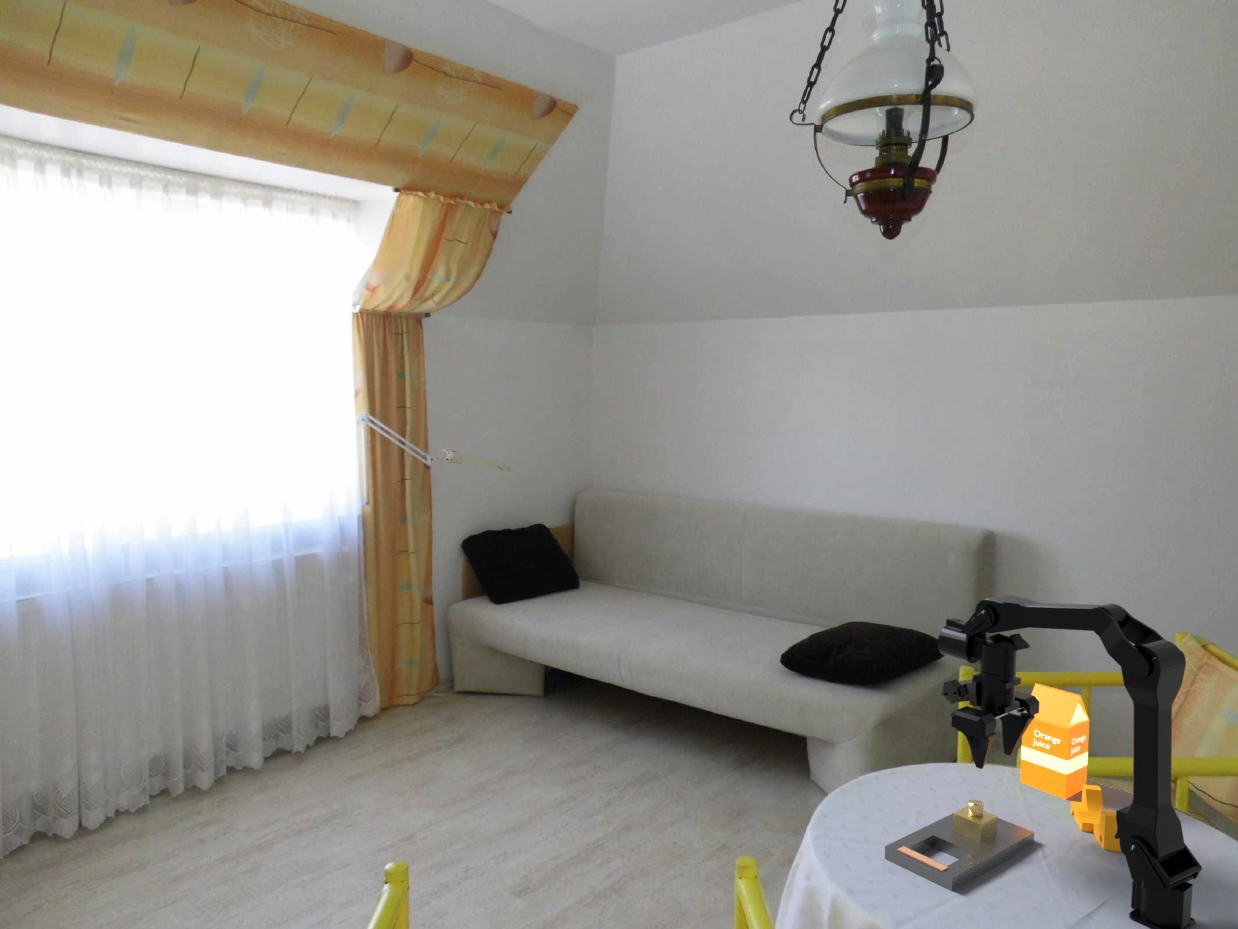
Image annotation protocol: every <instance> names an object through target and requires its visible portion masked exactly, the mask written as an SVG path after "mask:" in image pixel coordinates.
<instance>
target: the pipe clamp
mask: <svg viewBox="0 0 1238 929" xmlns="http://www.w3.org/2000/svg"><path fill="white" fill-rule="evenodd" d="M1116 812H1117V810H1109V809H1108V810H1106V809H1105V810H1104V804H1103V789H1102V788H1101V787H1100V786H1099V785H1094V784H1086V785H1085V784H1083V786H1082V790H1081V801H1074V800H1073V801H1070V814H1071V815H1072V816H1073V817H1074V818H1073V820H1074V821H1075V822H1076V824H1077V826H1078V827H1079V829H1080V831H1081V832H1084V833H1085V832H1086V833H1088V832H1089V833H1093V835H1094V836H1095V838H1096V840H1097V841H1098V843H1099V845H1100V846H1101V848H1102V850H1104V851H1113V852H1121V849H1120V845H1119V838H1118V839H1116V838H1115V835H1116V833H1117V821H1116Z"/></svg>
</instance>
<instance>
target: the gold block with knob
mask: <svg viewBox="0 0 1238 929" xmlns="http://www.w3.org/2000/svg"><path fill="white" fill-rule="evenodd" d="M967 801H968V802H967V806H965V807H963V808H961V809H959V810H957V811H955V812H953V813H952V814H953V830H952V831H955V832H957V833H959V834H962V835H964V836H966V837H969V838H971V839H973V840H976V841H978V842H982V841H984V840H986V839H988V838H990V837H991V836H993V835H995V834H997V819H998V818H999V817H998V815H995V814H993V813H991V812H989V811H987V810H984V807H985V806H984V802H982V801H981V800H978V799H968V800H967Z"/></svg>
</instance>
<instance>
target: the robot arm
mask: <svg viewBox="0 0 1238 929" xmlns="http://www.w3.org/2000/svg"><path fill="white" fill-rule="evenodd" d="M975 606H976V607H975V610H974V611H975V612H974V613H973V614H972V615H971V616H970V618H968V620H967V621H964V620H963V619H960V618H957V617H952V618H946V621H945V622H946V623H945V626H943V628H942V629H941V630H940V633H939V636H938V637H937V641H936V646H937V649H938V651H939V653H940V654H941V655H943V656H946V657H949V658H952V659H956V660H957V661H962V662H966V663H969V664H975V663H979V665H978V666H979V668H978V673H975V674H973V676H972V677H971V679H964V680H958V679H957V678H956V679H948V680H945V681H943V685H942V691H941V696H943V698H944V700H946V701H948V703H949V704H950V705H953V704H954V705H955V704H956V703H961V702H963V703H964V702H969V706H968V705H965V706H963V707H961V708H958V709H955V710H954V711H953V712H951V713H950V716H949V717H950V718H949V721H950V722H949V726H950V727H951V728H955V729H954V730H956V731H958V732H961V733H962V734H963V735H964V737H966V741H967V743H968V746H969V748H970V752H971V756H972V759H973V763H974V765H975V767H976V768H977V769H980V770H983V769H984V767H985V764H986V762H987V760H988V757H989V756H990V755H989V754H990V752H991V749H992V746H993V744H994V741H995V739H996V737H997V732H995V730H996V728H997V719H999V720H1000V721H1001V731H1002V733H1001V734H1002V746H1003V753H1004V755H1006V756H1012V755H1013V753H1014V751H1015V749H1016V748H1017V746H1018V744H1019V743H1020V741H1021V740H1022V736H1023V734H1024V732H1025V731H1026V729H1027V728H1028V726H1029V725H1030V723H1031V721H1032V720H1033V719H1034V718H1035V716H1034V715H1035V714H1037V713H1039V703H1040V702H1039V701H1038V700H1037V698H1036V697H1035V696H1033V695H1031V694H1029V693H1026V692H1021V691H1018V690H1016V686H1018V685H1021V684H1022V683H1021V682H1022V678H1021V677H1019V676H1018V677H1017V660H1018V659H1017V656H1018V655H1017V654H1018V652H1019V651H1025V650H1027V649H1030V647H1031V646H1030V644H1029V643H1028V642H1027V641H1026V640H1025V639H1024V638H1023V637H1022V635H1021V634H1020V633H1013V634H1010V635H1005V634H1002V633H1004V632H1008V631H1014V630H1015V631H1016V630H1020V629H1022V630H1023V629H1030V628H1032V629H1033V628H1034V629H1048V630H1049V629H1051V630H1068V631H1069V630H1070V631H1083V632H1084V631H1085V632H1086V631H1087V632H1094V633H1095V634H1096V635H1097V636H1098V637H1099V639H1100V641H1101V642H1102V645H1103V647H1104V649H1105V651H1106V653H1107V654H1108V655H1109V656H1110V657H1111V659H1113V660H1114V661H1115V662H1116V663H1117V664H1118V665H1119V666H1120V671H1121V676H1122V683H1123V686H1124V687H1125V688H1124V689H1125V690H1126V692H1127V694H1128V695H1129V697H1130V699H1131V701H1132V707H1133V709H1132V710H1133V711H1132V714H1133V716H1132V717H1133V720H1132V721H1133V723H1132V728H1133V731H1132V732H1133V733H1132V735H1133V736H1132V739H1133V741H1132V801H1131V803H1130V805H1128V806H1125V807H1122V808H1119V809H1118V810H1116V811H1117V812H1116V821H1117V833H1116V835H1115V838H1116V839H1118V838H1119V845H1120V849H1121V851H1120V852H1121V853H1122V854H1123V855H1124V856H1125V859H1126V862H1127V866H1128V871H1129V873H1130V878H1131V880H1132V881H1131V897H1130V907H1131V909H1132V910H1131V911H1130V912H1129V913H1128V917H1129V919H1131V920H1134V921H1137V922H1138V923H1141V924H1143V925H1145V926H1148V927H1150V928H1153V929H1190V928H1192V927H1193V926H1194V925H1195V924H1196V919H1195V918H1193V917H1192V916H1191V915H1192V900H1193V886H1194V885H1193V884H1192V883H1191V882H1190V881H1191V880H1196V879H1197V878H1199V875H1200V873H1201V871H1202V869H1203V867H1202V865H1201V864H1200V862H1199V861H1198V860H1197V858H1196V857H1195V856H1194V854H1193V852H1192V851H1191V850H1190V849H1189V848H1188V846H1187V845H1186V843H1185V840H1184V832H1183V827H1182V822H1181V820H1180V818H1179V816H1178V814H1177V812H1176V811H1175V808H1174V807H1173V805H1172V804H1173V803H1172V746H1173V745H1172V736H1173V735H1172V734H1173V733H1172V730H1173V728H1172V726H1173V724H1172V722H1173V721H1172V719H1173V718H1172V716H1173V715H1172V714H1173V712H1172V711H1173V710H1172V709H1173V704H1174V702H1175V700H1176V698H1177V696H1178V694H1179V691H1180V689H1181V687H1182V685H1183V681H1184V676H1185V672H1186V665H1187V660H1186V655H1185V653H1184V652H1183V651H1182V650H1181V649H1180V648H1179V647H1178V646H1177V645H1176V644H1174V643H1173V642H1171V641H1169V640H1166V639H1165V638H1164V637H1163V636H1162V635H1161V634H1159V632H1158V631H1156V629H1154V628H1152V627H1150V626H1149V625H1147V624H1145V623H1144V622H1143V621H1141V620H1139V619H1137V618H1135V617H1134V616H1133V615H1131V614H1130V613H1129V612H1128V611H1127V610H1126V609H1125V608H1124V607H1122V606H1121V605H1118V604H1116V603H1105V604H1087V603H1086V604H1085V603H1083V604H1081V603H1053V602H1052V603H1048V602H1047V603H1046V602H1037V601H1034V600H1030V599H1028V598H1026V597H1021V596H1019V595H1013V594H1006V595H999V596H998V595H997V596H993V597H986V598H982V599H980V600H979V601H978V603H977V604H976V605H975ZM987 633H988V634H992V635H988V634H987ZM971 706H972V707H971ZM975 707H979V709H978V708H975Z"/></svg>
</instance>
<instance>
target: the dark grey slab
mask: <svg viewBox="0 0 1238 929" xmlns="http://www.w3.org/2000/svg"><path fill="white" fill-rule="evenodd" d="M952 830H953V813H951V814H949V815H947V816H945V817H943V818H941V819H938V820H936V821H934V822H931V823H930V824H929V825H926V826H924V827H922V828H920V829H918V830H916V831H914V832H912V833H910V834H908V835H906V836H904V837H901V838H900V839H897V840H895V841H892V842H891V843H889V844H887V845H884V859H885V860H887V861H890V862H892V863H894V864H896V865H898V866H900V867H902V868H904V869H906V870H908V871H910V872H912V873H914V874H916V875H918V876H920V877H923V878H925V879H926V880H928V881H930V882H933V883H935V884H938V886H941V887H943V888H945V889H947V890H950V891H951V892H952V891H955V890H957V889H958V888H960V887H962V886H964V884H967V883H968V882H971V881H972V880H973V879H975V878H977V877H979V876H980V875H982V874H984V873H986V872H987V871H990V870H991V869H993V868H994V867H995V868H996V867H997V866H998V865H1000V864H1002V863H1004V862H1005V861H1006V860H1009V859H1010V858H1013V856H1015V855H1016V854H1018V853H1019V852H1021V851H1022V850H1025V849H1026V848H1028V846H1030V845H1032V844H1033V843H1035V831H1032V830H1030V829H1027V828H1024V827H1022V826H1020V825H1017V824H1015V823H1013V822H1011V821H1007V820H1004V819H1002V818H999V817H998V819H997V834H995V835H993V836H991V837H990V838H988V839H986V840H984V841H982V842H978V841H976V840H973V839H971V838H969V837H966V836H964V835H962V834H959V833H957V832H955V831H952ZM931 848H935V849H937V850H939V851H941V852H943V853H946V854H947V855H950V856H952V857H954V858H956V859H958V860H955V861H954V862H952V863H949V864H948V865H946V864H944V863H942V862H940V861H937V860H935V859H933V858H930V856H929V857H928V856H927V855H924V854H922V853H923V852H925V851H927V850H928V851H929V849H931Z"/></svg>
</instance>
